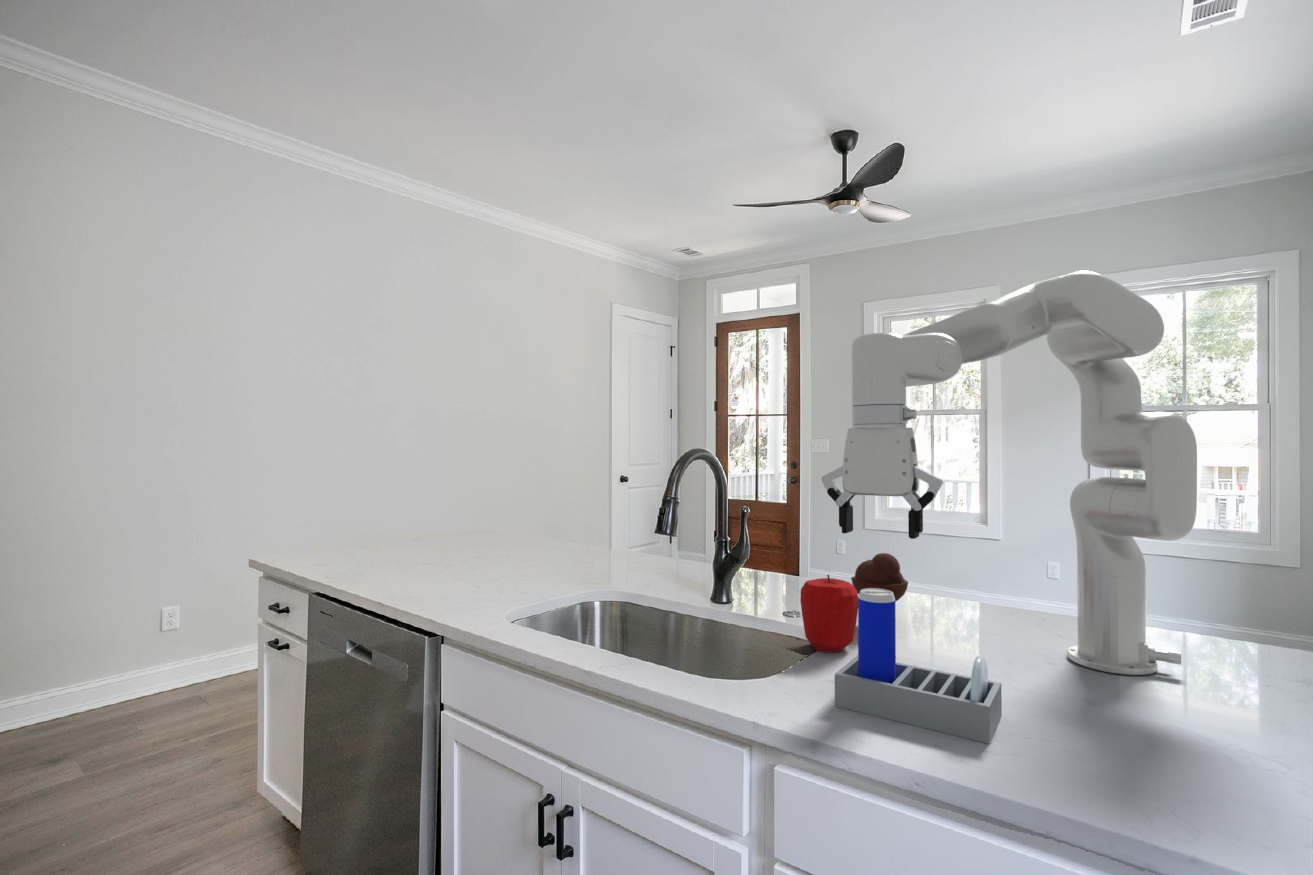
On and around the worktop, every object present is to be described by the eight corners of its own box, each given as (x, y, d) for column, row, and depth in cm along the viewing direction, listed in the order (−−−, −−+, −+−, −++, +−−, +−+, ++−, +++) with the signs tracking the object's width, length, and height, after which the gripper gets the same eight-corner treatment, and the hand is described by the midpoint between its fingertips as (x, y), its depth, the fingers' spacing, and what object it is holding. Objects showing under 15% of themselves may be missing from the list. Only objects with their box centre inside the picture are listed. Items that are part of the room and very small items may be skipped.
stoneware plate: (987, 708, 90) (987, 650, 90) (977, 729, 83) (977, 666, 83) (981, 707, 90) (981, 649, 90) (970, 727, 84) (970, 665, 84)
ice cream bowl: (898, 618, 138) (898, 548, 139) (914, 634, 127) (913, 557, 127) (847, 617, 140) (847, 547, 140) (858, 632, 128) (858, 556, 128)
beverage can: (895, 690, 96) (895, 589, 96) (896, 703, 92) (895, 597, 92) (859, 685, 98) (858, 586, 98) (857, 698, 93) (857, 594, 93)
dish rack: (1001, 715, 90) (1001, 682, 90) (989, 743, 82) (989, 706, 82) (857, 684, 101) (857, 654, 101) (834, 705, 93) (834, 673, 93)
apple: (857, 660, 112) (856, 582, 112) (797, 654, 116) (796, 578, 116) (860, 642, 122) (860, 570, 122) (805, 637, 126) (804, 567, 126)
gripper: (947, 417, 94) (948, 536, 94) (830, 420, 104) (831, 527, 104) (935, 416, 87) (936, 543, 87) (812, 419, 97) (813, 533, 97)
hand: (879, 534), depth 95 cm, fingers open, 9 cm apart
